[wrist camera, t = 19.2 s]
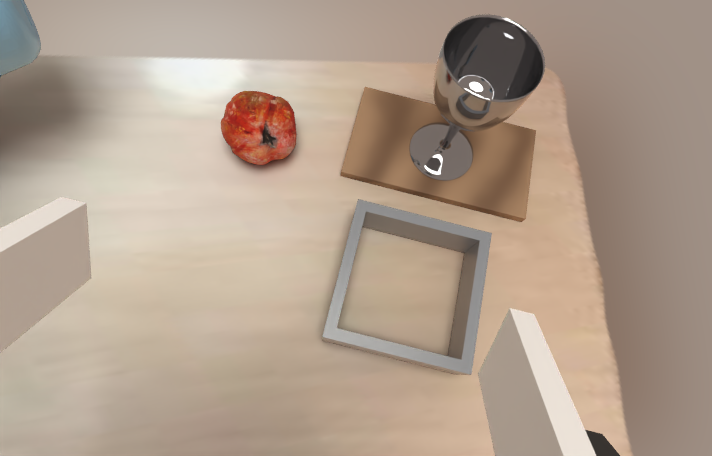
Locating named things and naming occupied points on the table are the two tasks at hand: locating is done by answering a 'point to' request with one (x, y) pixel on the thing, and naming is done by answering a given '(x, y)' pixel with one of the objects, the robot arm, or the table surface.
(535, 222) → the table surface
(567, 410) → the robot arm
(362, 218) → the square frame
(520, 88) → the wine glass
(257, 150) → the pomegranate
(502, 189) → the board
